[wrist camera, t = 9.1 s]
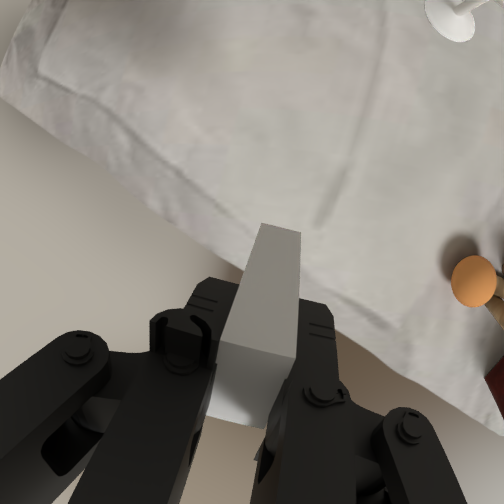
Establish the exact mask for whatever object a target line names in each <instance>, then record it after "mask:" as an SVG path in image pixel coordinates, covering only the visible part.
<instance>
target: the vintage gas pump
mask: <svg viewBox="0 0 504 504" xmlns="http://www.w3.org/2000/svg"><path fill="white" fill-rule="evenodd" d="M484 379H485V381H486V383H487V385H488V387H489V389H490V391H491V393H492V395H493V397H494V399H495V402H496V404H497V406H498V408H499V410H500V413H501V415H502V417H503V419H504V356H503V357H502V358H501V359H500V361H499V362H498V363H497V364H496V365H495V366H494V368H493V369H492V370H491V371H490V372H489V373H488V374H487V376H486V377H485V378H484Z"/></svg>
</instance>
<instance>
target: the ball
mask: <svg viewBox="0 0 504 504" xmlns="http://www.w3.org/2000/svg"><path fill="white" fill-rule="evenodd" d="M496 285H497V277H496V272H495V269H494V267H493V266H492V264H491V263H490V262H489V261H488V260H487V259H485V258H484V257H481V256H469V257H466V258H464V259H462V260H461V261H460V262H459V263H458V264H457V265H456V267H455V269H454V271H453V273H452V278H451V286H452V291H453V294H454V295H455V297H456V299H457V300H458V301H459V302H460V303H462V304H463V305H465V306H468V307H479V306H481V305H483V304H485V303H486V302H488V301H489V300H490V299H491V297H492V296H493V294H494V292H495V289H496Z"/></svg>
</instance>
